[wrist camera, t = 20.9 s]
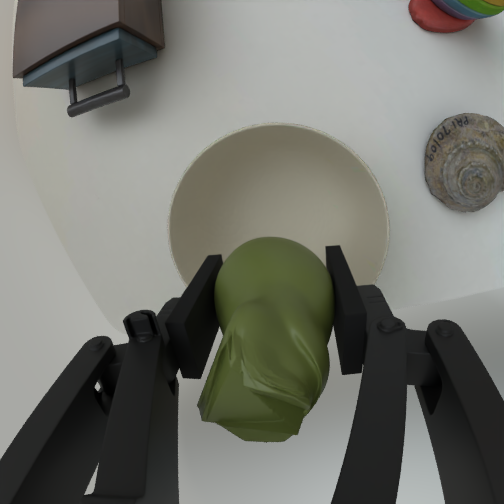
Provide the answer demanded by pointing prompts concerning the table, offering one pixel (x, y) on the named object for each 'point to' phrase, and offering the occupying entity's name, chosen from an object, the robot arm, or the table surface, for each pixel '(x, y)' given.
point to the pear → (269, 340)
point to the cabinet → (78, 26)
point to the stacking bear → (452, 13)
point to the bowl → (279, 199)
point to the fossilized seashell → (466, 161)
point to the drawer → (92, 67)
